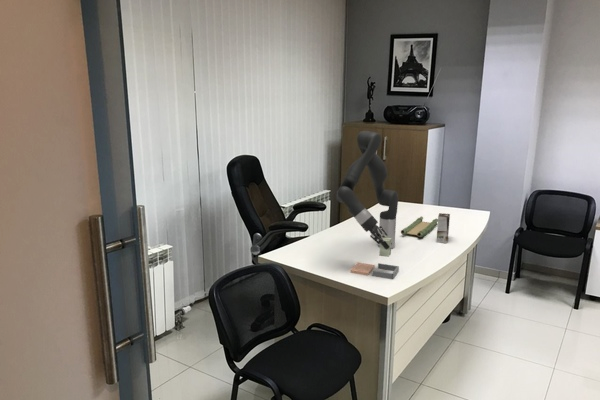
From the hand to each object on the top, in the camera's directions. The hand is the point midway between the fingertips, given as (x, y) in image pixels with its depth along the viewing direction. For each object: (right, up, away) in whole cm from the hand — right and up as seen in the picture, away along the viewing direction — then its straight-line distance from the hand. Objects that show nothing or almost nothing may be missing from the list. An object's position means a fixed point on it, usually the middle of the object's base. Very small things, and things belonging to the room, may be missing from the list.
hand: (389, 246), depth 218 cm
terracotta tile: (-12, -12, +8) cm, 19 cm away
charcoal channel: (-2, -13, +4) cm, 14 cm away
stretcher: (+35, +2, +75) cm, 83 cm away
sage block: (-2, -4, +2) cm, 5 cm away
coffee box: (+43, -2, +55) cm, 70 cm away
